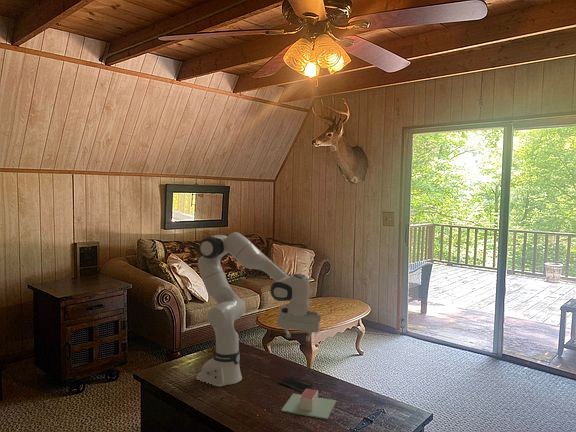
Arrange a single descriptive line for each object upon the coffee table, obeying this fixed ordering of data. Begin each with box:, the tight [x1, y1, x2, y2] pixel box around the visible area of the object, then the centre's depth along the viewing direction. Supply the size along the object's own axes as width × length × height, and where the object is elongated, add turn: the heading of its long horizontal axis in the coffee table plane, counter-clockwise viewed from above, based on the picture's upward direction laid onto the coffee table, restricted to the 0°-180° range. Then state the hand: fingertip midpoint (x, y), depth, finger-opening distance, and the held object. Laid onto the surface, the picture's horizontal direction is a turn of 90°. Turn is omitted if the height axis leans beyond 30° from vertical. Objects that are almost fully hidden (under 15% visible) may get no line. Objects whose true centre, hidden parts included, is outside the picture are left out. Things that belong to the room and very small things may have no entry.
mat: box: [280, 393, 337, 420], centre depth 186 cm, size 20×16×1 cm
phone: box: [279, 376, 313, 393], centre depth 207 cm, size 8×1×15 cm
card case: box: [300, 388, 319, 411], centre depth 186 cm, size 9×6×5 cm, turn 161°
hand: (297, 338), depth 200 cm, fingers open, 8 cm apart
